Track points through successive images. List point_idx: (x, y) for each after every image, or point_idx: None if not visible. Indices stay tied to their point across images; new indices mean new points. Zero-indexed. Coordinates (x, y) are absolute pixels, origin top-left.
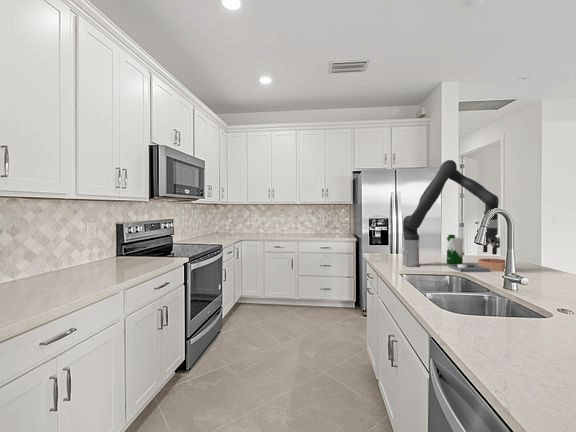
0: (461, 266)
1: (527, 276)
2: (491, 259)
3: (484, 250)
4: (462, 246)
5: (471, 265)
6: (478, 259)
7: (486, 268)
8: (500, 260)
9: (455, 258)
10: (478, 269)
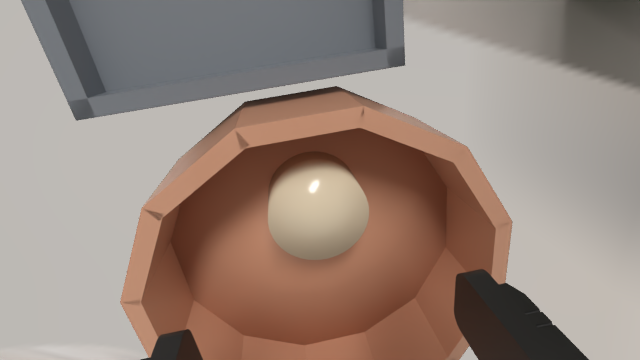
0: None
1: (52, 357)
2: None
3: (478, 306)
4: None
5: (381, 11)
6: (443, 140)
7: (105, 94)
8: (426, 358)
9: None
10: None
